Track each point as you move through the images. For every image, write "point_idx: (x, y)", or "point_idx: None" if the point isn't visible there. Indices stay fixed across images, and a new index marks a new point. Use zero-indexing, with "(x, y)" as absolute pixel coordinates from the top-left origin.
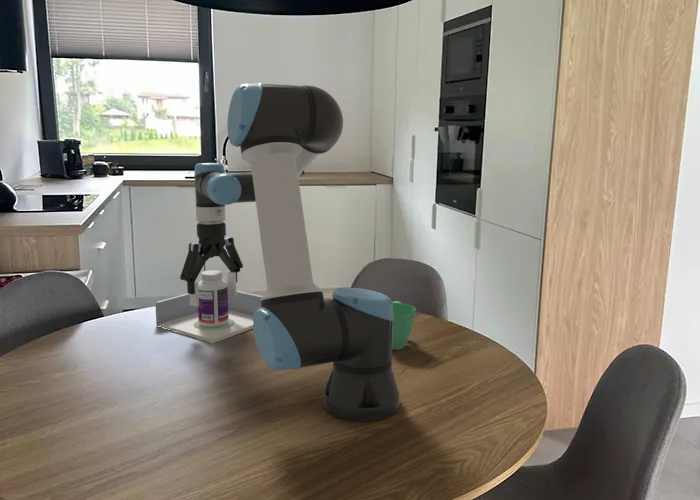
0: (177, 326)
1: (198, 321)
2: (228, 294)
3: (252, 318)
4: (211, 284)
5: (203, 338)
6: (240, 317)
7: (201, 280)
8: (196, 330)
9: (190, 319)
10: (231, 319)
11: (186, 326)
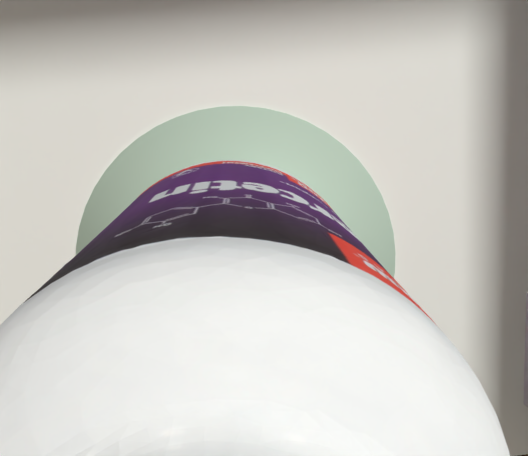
0: None
1: (181, 132)
2: (526, 305)
3: (511, 362)
4: None
5: None
6: (477, 283)
7: (42, 442)
8: None
9: (171, 20)
10: (399, 273)
11: (39, 161)
